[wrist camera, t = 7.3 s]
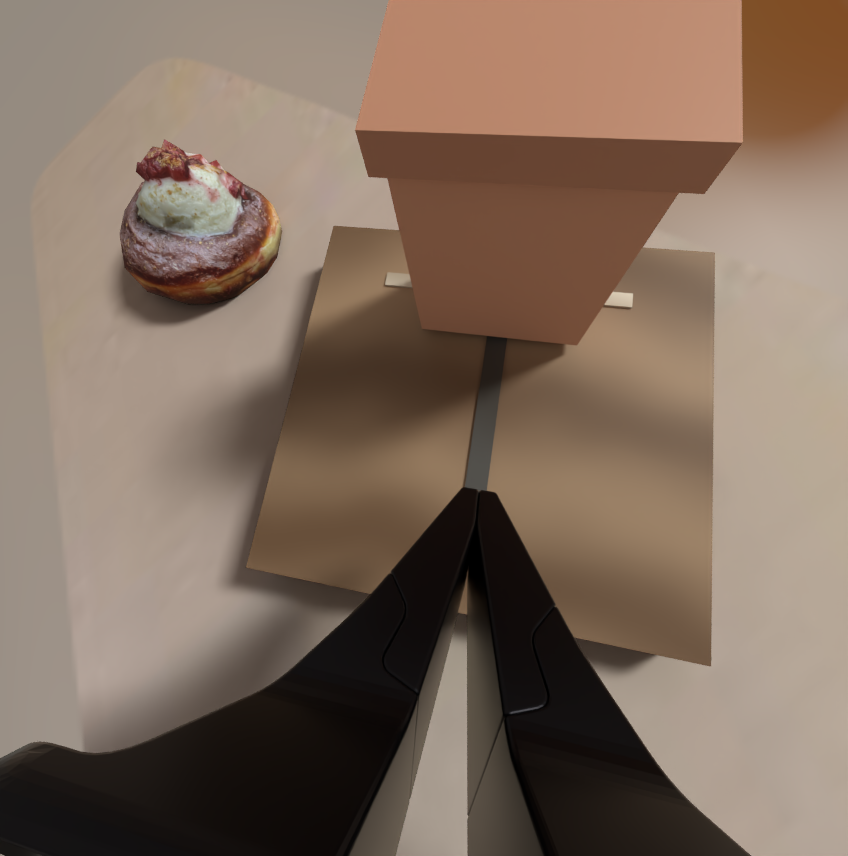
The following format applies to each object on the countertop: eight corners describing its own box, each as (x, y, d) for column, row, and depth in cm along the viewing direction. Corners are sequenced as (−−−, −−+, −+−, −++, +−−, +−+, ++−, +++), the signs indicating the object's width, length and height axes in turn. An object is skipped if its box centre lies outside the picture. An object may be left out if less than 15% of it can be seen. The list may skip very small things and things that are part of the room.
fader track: (675, 644, 14) (713, 667, 12) (272, 561, 16) (244, 567, 14) (685, 283, 17) (716, 250, 15) (347, 255, 19) (332, 224, 17)
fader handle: (584, 353, 14) (742, 142, 6) (413, 334, 15) (355, 130, 7) (591, 269, 15) (741, -17, 7) (428, 256, 16) (391, -10, 8)
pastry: (301, 200, 20) (251, 101, 15) (260, 324, 19) (189, 258, 14) (174, 186, 22) (90, 91, 17) (125, 302, 20) (17, 234, 15)
